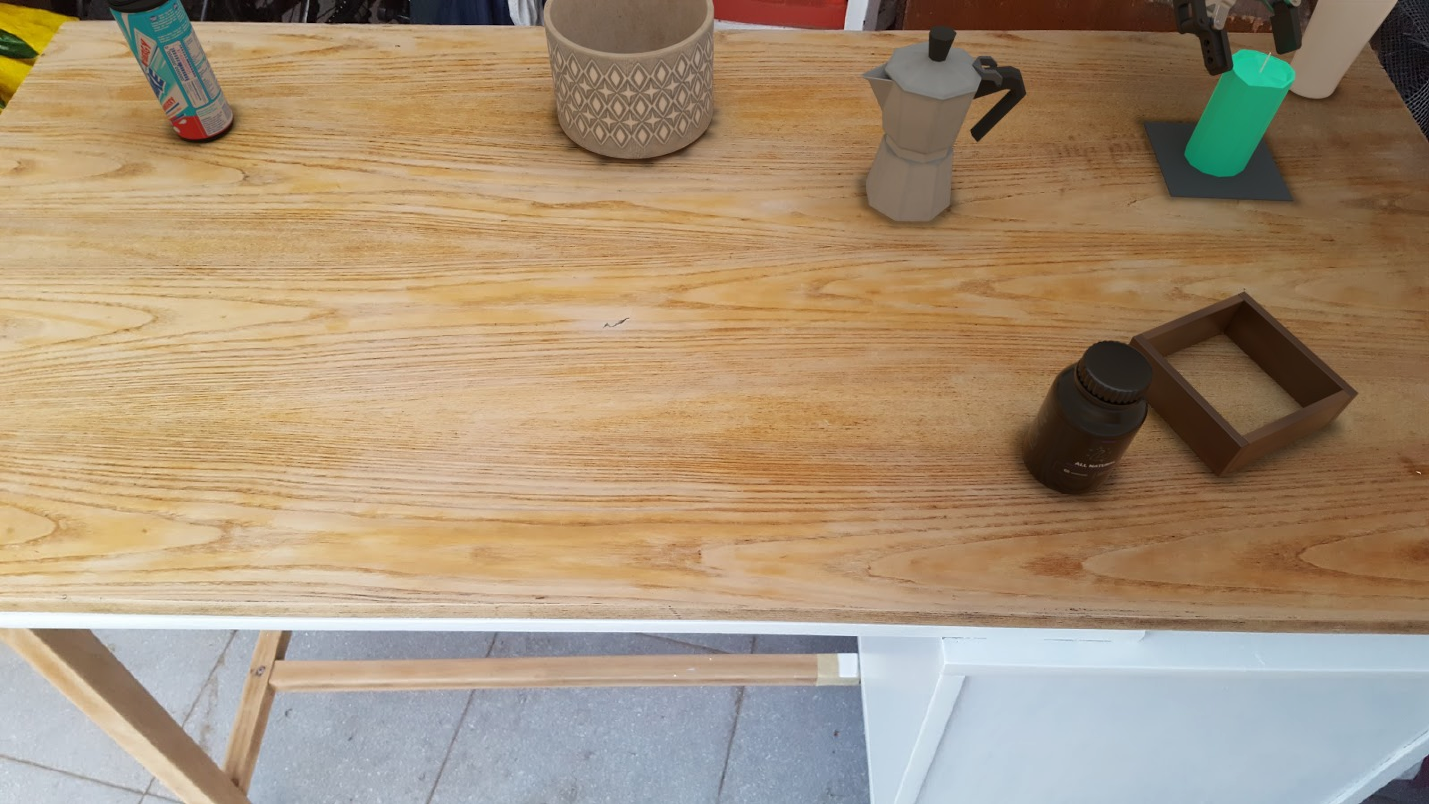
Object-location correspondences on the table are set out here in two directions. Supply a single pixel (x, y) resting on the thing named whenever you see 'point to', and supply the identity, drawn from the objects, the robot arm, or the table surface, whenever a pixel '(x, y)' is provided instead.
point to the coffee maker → (929, 121)
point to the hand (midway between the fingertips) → (1256, 62)
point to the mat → (1190, 182)
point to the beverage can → (175, 66)
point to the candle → (1239, 113)
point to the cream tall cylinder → (1334, 43)
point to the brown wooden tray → (1271, 352)
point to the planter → (632, 73)
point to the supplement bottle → (1089, 418)
